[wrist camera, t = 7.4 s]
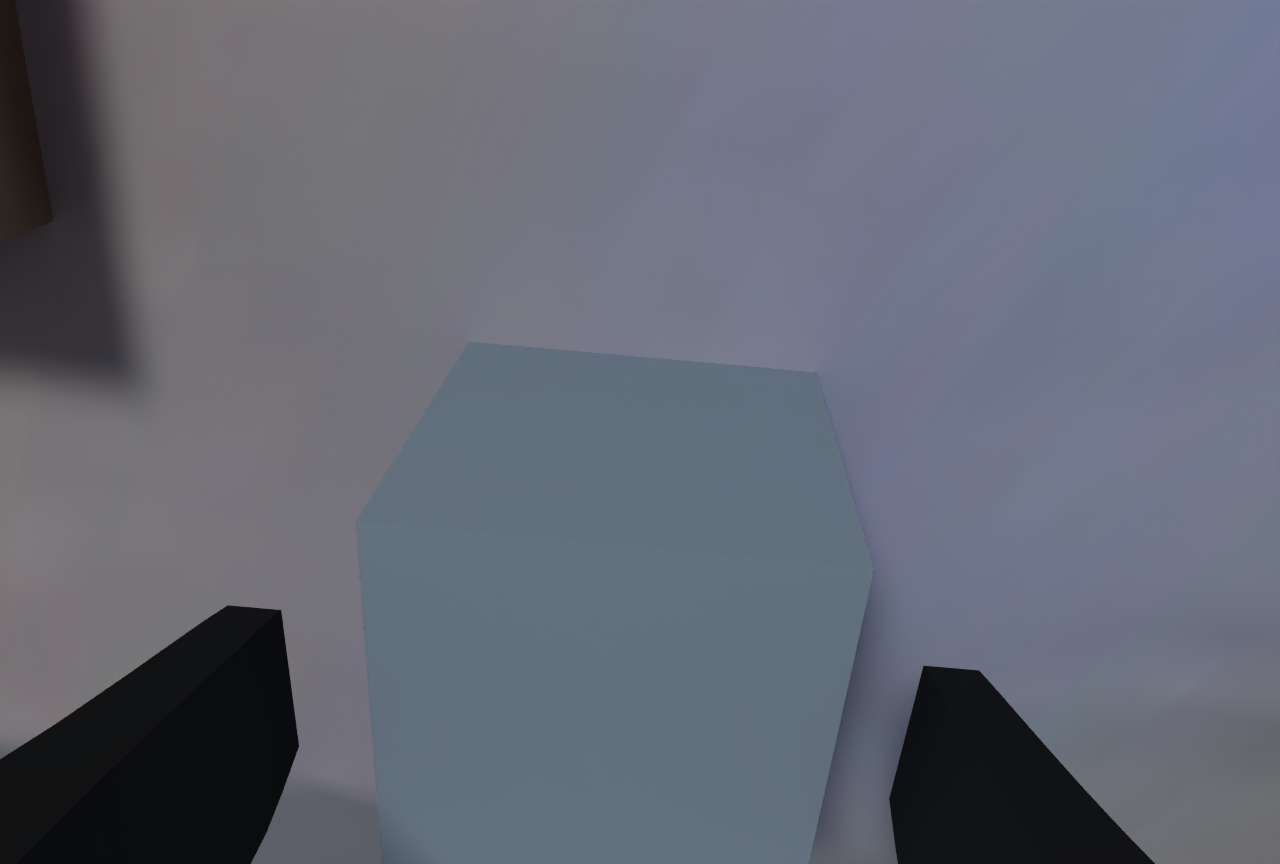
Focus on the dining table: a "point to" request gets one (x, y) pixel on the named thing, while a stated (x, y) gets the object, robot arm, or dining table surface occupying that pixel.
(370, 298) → the dining table surface
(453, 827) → the blue-grey cube
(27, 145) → the walnut block
